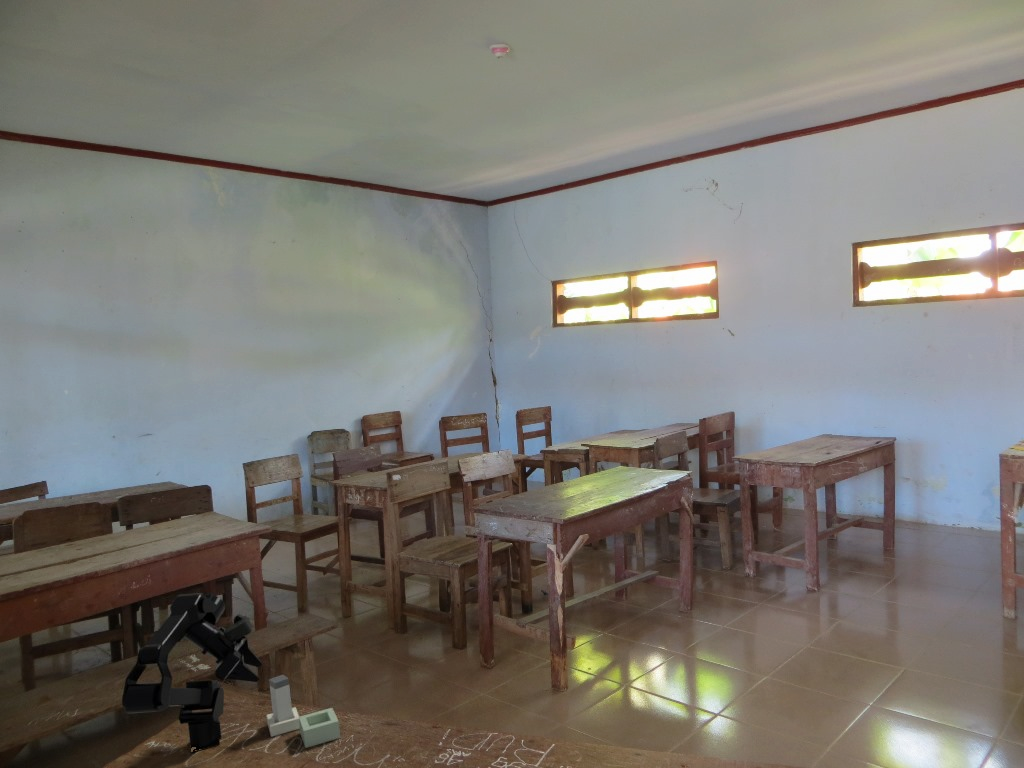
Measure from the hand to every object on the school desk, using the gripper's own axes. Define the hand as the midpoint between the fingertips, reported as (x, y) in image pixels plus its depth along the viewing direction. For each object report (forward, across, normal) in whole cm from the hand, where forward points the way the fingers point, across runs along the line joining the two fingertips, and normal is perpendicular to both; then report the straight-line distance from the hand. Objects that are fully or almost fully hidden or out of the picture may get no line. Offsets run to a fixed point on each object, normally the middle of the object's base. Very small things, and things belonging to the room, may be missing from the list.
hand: (259, 672), depth 182 cm
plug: (+13, -2, +6) cm, 15 cm away
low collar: (+13, -2, +6) cm, 14 cm away
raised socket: (+19, -11, 0) cm, 22 cm away
